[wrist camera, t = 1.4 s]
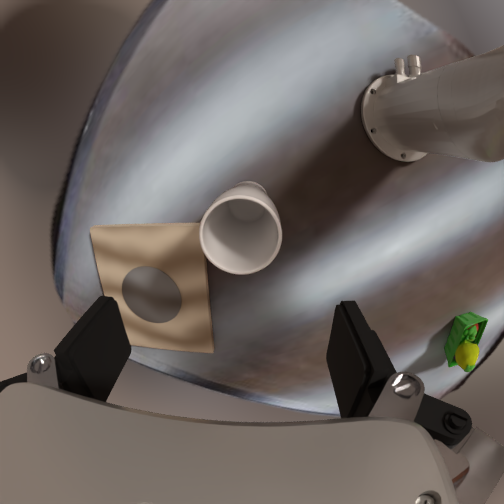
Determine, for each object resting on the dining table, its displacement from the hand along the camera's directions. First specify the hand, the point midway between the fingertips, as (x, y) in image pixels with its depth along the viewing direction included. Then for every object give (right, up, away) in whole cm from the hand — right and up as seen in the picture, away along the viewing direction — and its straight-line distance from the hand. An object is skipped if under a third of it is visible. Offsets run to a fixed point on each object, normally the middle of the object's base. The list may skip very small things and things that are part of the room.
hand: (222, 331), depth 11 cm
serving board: (-14, -3, +30) cm, 33 cm away
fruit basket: (+45, -14, +33) cm, 57 cm away
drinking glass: (+1, +10, +25) cm, 27 cm away
